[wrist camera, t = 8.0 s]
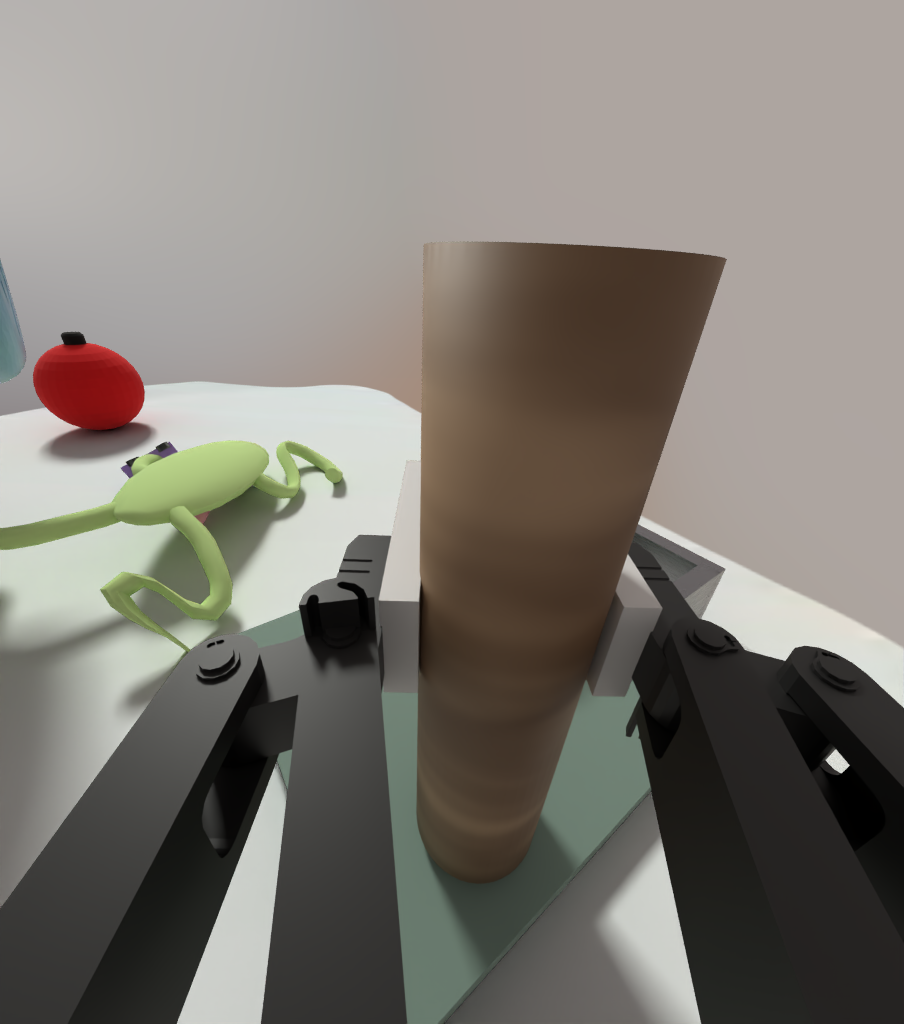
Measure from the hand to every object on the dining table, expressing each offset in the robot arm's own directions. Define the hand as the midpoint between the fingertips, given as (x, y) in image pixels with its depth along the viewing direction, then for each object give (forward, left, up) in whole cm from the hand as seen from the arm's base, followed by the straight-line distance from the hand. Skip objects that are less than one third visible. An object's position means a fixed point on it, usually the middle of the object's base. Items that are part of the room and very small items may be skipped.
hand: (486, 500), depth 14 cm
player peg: (-3, -4, -9) cm, 10 cm away
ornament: (-13, +50, -11) cm, 52 cm away
